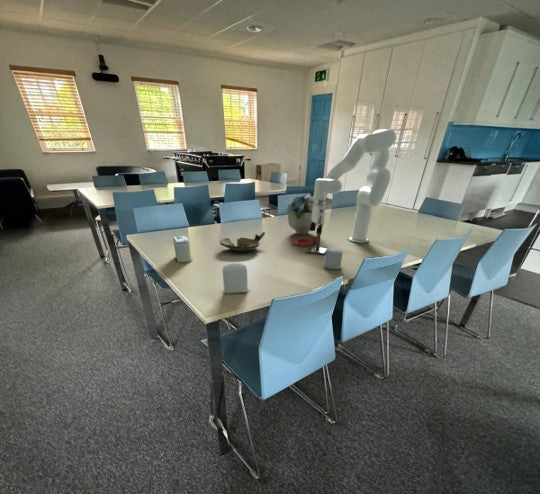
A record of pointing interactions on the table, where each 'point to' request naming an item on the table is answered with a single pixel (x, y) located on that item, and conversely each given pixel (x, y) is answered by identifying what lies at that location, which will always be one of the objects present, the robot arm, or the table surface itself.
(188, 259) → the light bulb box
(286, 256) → the table surface
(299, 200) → the flower arrangement
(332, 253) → the medicine box
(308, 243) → the ring
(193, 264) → the table surface
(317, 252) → the post
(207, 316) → the table surface
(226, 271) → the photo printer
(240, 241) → the oil lamp
